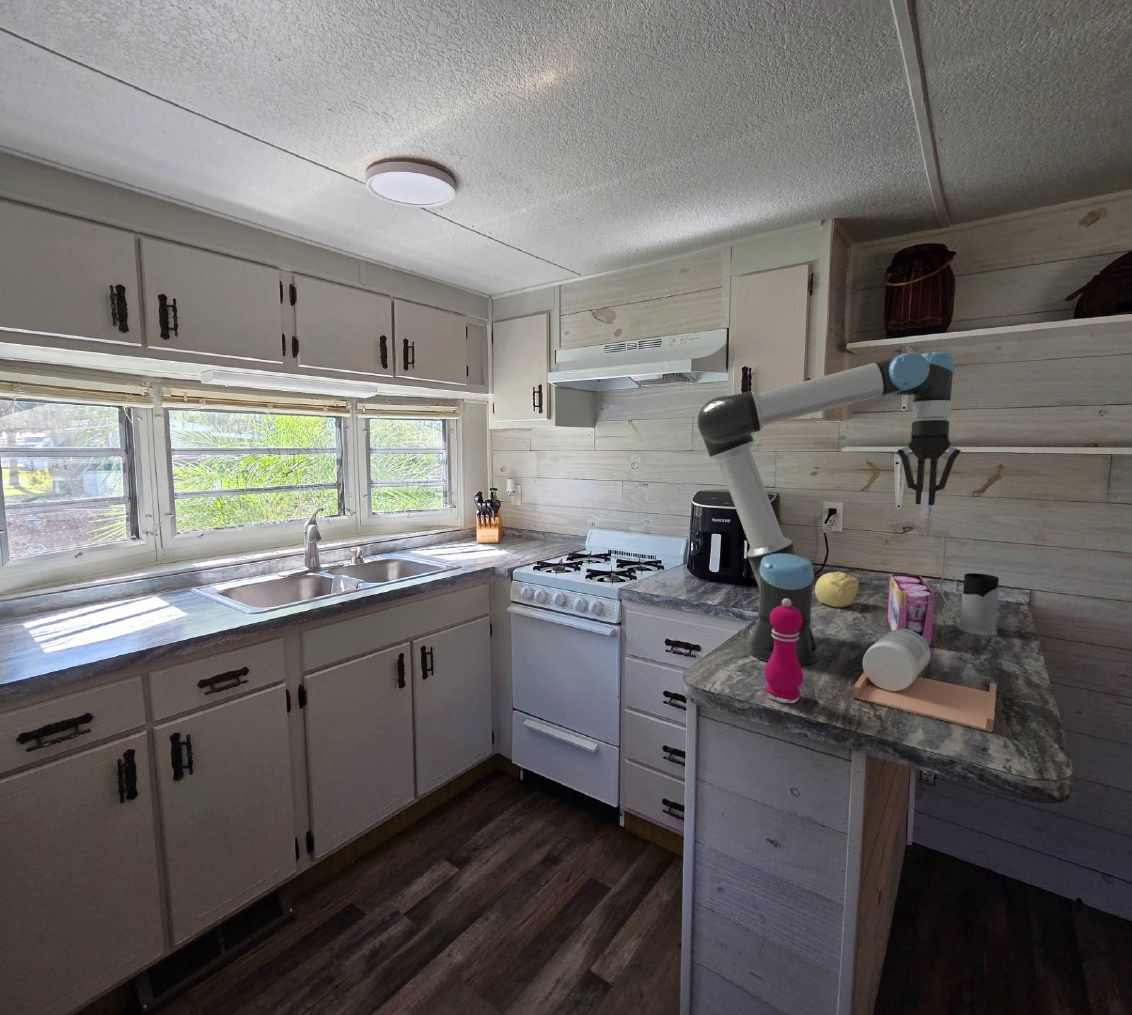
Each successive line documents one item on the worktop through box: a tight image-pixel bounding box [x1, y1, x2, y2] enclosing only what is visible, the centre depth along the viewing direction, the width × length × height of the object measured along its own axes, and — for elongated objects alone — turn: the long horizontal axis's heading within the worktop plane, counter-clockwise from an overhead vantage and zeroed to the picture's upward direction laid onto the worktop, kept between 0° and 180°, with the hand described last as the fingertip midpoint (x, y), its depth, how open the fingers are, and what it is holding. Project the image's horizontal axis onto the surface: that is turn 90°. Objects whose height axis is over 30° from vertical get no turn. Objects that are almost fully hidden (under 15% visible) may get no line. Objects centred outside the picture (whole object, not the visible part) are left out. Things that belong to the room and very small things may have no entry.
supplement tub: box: [862, 629, 931, 691], centre depth 118 cm, size 10×10×15 cm
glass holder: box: [939, 572, 1000, 636], centre depth 155 cm, size 9×14×15 cm, turn 33°
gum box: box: [887, 573, 935, 647], centre depth 151 cm, size 24×8×14 cm, turn 155°
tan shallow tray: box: [852, 671, 998, 732], centre depth 111 cm, size 19×22×2 cm
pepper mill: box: [763, 598, 804, 700], centre depth 110 cm, size 7×7×20 cm
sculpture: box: [814, 571, 860, 608], centre depth 178 cm, size 11×12×11 cm
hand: (924, 518), depth 136 cm, fingers closed
